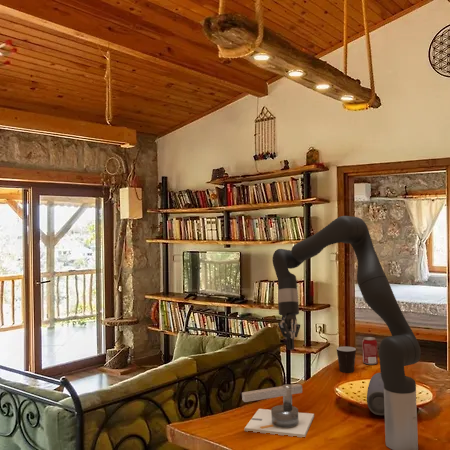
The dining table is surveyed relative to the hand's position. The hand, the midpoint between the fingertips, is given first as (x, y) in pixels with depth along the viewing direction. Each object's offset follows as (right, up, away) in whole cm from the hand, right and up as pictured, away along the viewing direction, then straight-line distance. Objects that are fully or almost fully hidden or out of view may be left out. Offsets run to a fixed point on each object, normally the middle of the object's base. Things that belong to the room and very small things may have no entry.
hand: (290, 349), depth 184 cm
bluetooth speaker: (+33, -21, 0) cm, 39 cm away
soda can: (+45, -21, +56) cm, 75 cm away
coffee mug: (+30, -21, +45) cm, 58 cm away
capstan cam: (-8, -21, -16) cm, 27 cm away
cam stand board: (-5, -22, -12) cm, 26 cm away
